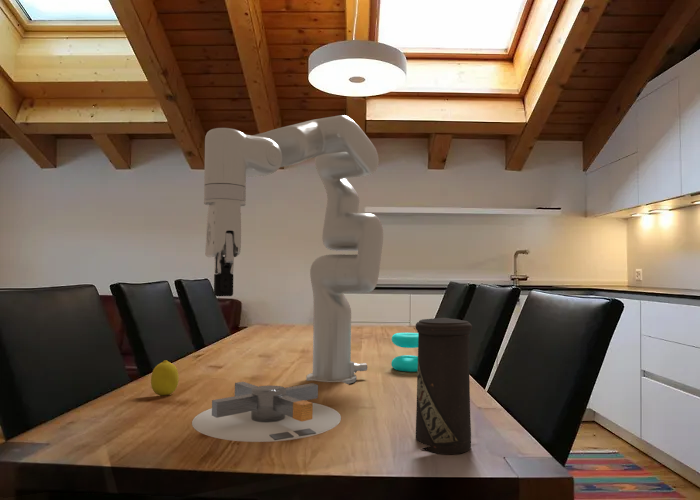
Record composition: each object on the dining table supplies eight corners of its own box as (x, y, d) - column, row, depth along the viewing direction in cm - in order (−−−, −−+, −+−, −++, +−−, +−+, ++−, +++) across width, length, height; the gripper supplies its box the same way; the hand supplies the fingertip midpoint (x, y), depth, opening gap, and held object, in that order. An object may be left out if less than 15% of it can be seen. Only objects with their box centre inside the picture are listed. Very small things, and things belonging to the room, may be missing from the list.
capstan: (186, 415, 91) (187, 387, 91) (283, 397, 105) (284, 373, 105) (250, 447, 75) (250, 412, 75) (354, 421, 89) (355, 392, 89)
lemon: (169, 402, 104) (170, 363, 104) (144, 400, 105) (146, 361, 105) (183, 396, 109) (184, 358, 110) (159, 394, 110) (161, 357, 111)
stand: (304, 399, 108) (304, 393, 108) (368, 432, 85) (368, 425, 86) (177, 414, 95) (178, 407, 95) (214, 459, 73) (214, 450, 73)
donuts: (428, 332, 148) (425, 336, 139) (427, 367, 148) (425, 373, 138) (394, 331, 150) (389, 335, 141) (393, 365, 150) (389, 371, 140)
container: (409, 437, 83) (410, 315, 84) (463, 436, 84) (463, 315, 85) (421, 456, 75) (422, 320, 76) (480, 455, 76) (480, 320, 76)
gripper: (198, 200, 99) (196, 294, 98) (211, 189, 86) (209, 298, 85) (236, 202, 102) (235, 293, 102) (255, 192, 89) (253, 297, 88)
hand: (223, 295), depth 93 cm, fingers closed
